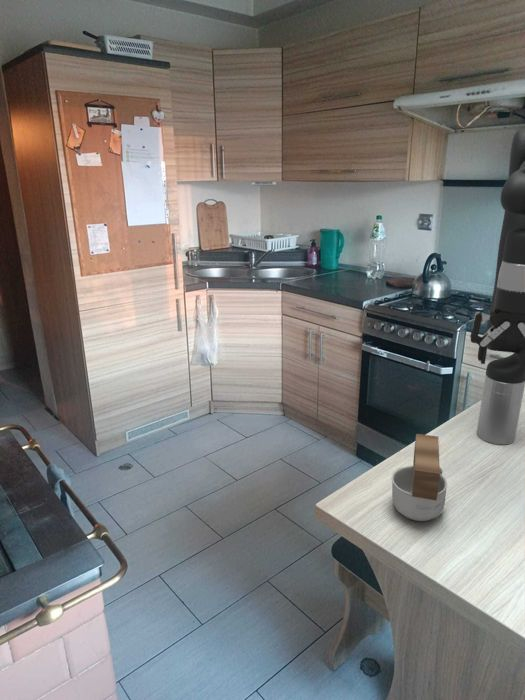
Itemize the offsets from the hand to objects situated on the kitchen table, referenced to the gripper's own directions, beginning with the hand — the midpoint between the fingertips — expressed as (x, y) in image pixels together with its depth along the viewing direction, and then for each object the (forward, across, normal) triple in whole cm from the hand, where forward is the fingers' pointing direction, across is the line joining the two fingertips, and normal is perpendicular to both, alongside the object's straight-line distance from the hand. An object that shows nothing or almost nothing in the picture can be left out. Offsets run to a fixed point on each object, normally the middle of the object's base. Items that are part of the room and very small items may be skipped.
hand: (505, 365), depth 99 cm
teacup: (+30, +13, +11) cm, 35 cm away
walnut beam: (+22, +13, +11) cm, 28 cm away
